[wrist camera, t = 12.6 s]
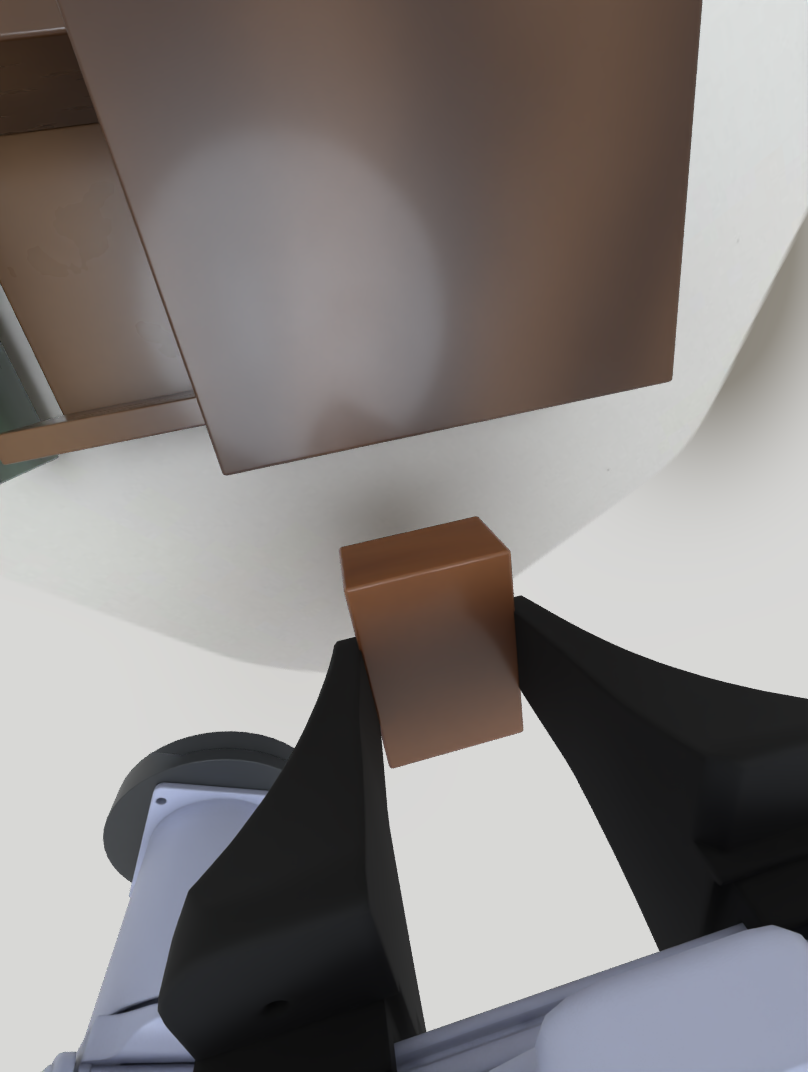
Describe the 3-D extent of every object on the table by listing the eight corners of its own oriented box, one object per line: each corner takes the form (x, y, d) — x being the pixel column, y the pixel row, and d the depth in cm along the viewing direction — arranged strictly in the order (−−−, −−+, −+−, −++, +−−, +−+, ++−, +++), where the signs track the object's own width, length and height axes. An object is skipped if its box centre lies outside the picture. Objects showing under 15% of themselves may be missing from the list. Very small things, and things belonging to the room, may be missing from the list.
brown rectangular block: (494, 676, 15) (524, 732, 13) (379, 708, 15) (390, 771, 13) (477, 514, 13) (512, 550, 10) (337, 546, 12) (343, 590, 10)
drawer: (-103, 490, 16) (-274, 550, 12) (-349, 128, 12) (-783, -12, 7) (353, 398, 18) (367, 418, 13) (280, 52, 14) (262, -103, 9)
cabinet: (253, 431, 19) (222, 477, 12) (139, 60, 14) (-10, -182, 8) (558, 369, 20) (673, 381, 14) (550, 11, 15) (722, -230, 9)
